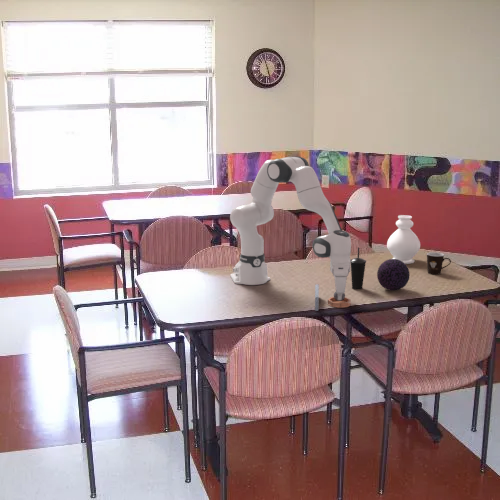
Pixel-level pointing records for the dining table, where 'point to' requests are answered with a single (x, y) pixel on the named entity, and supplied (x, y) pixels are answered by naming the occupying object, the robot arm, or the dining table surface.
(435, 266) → the coffee mug
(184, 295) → the dining table surface
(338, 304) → the dish
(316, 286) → the wall
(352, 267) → the drinking cup
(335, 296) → the ball
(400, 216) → the decorative vase
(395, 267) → the toy ball
